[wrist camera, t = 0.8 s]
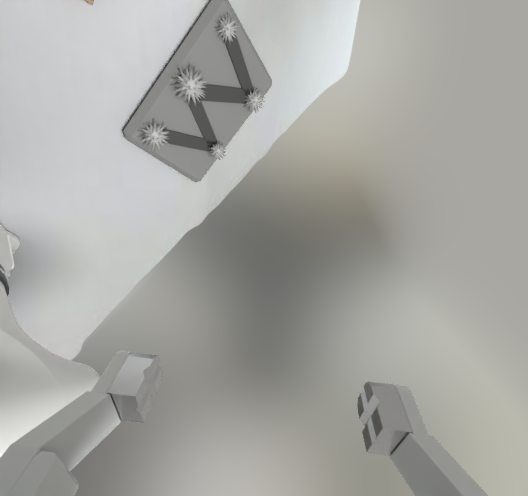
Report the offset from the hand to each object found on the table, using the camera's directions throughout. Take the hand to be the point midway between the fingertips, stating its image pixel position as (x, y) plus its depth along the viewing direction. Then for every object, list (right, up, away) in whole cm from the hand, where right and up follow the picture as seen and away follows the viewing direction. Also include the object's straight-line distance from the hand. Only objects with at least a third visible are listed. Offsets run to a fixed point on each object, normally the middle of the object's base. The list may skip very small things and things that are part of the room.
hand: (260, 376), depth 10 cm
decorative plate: (-13, +36, +46) cm, 60 cm away
